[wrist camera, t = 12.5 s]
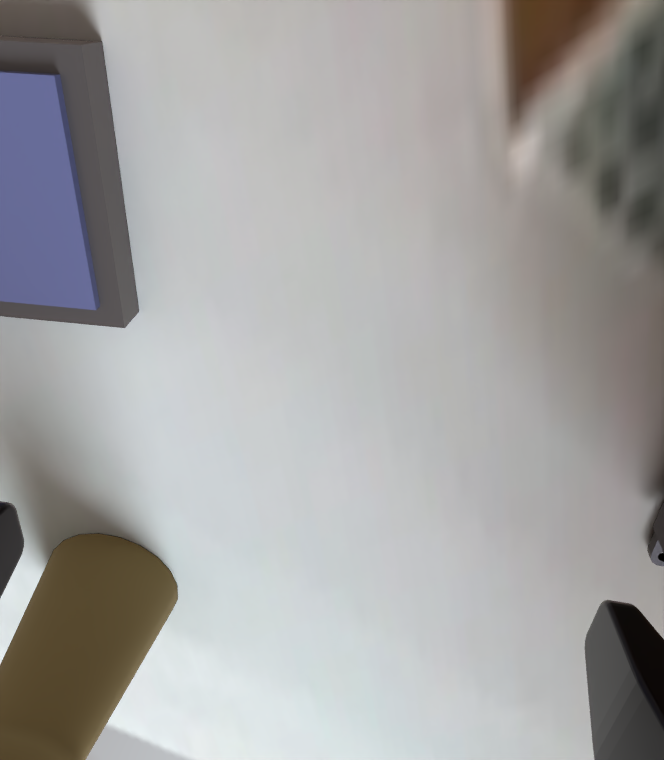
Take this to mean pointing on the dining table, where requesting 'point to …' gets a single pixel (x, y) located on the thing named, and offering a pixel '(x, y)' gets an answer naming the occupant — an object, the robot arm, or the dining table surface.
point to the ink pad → (61, 187)
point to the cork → (80, 645)
